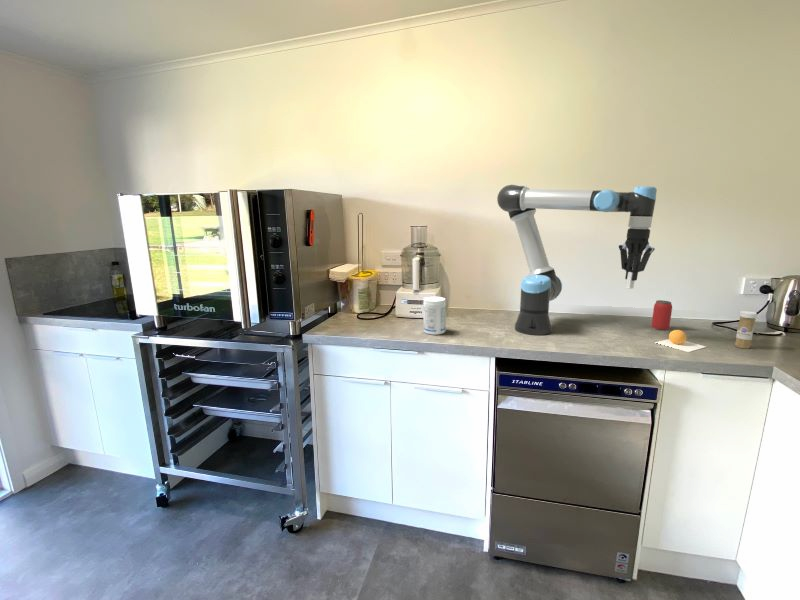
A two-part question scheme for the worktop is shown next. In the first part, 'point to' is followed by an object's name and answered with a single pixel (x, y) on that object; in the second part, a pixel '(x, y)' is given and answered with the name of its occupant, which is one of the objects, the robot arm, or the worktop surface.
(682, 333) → the ball
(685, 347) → the spiral notepad
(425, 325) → the supplement tub
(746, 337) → the sprinkles bottle
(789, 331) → the worktop surface
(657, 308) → the beer can
